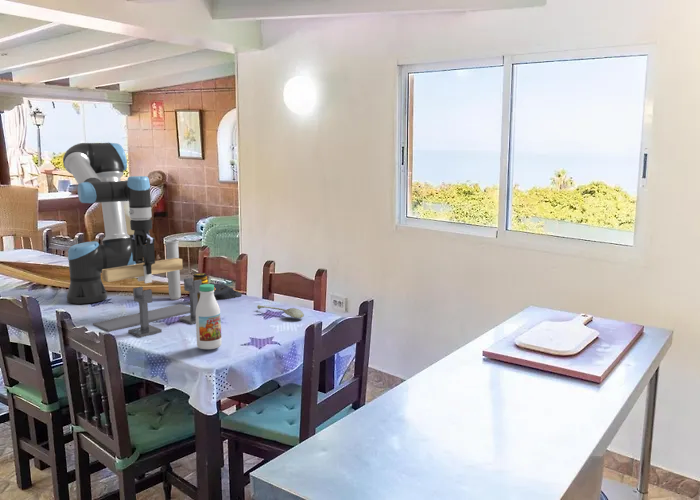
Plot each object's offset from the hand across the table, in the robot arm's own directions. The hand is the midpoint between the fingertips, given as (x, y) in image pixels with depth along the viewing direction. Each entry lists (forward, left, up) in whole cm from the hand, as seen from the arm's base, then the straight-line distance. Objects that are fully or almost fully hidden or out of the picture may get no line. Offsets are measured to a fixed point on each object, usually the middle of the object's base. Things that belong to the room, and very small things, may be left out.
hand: (144, 281), depth 224 cm
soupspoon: (+33, +34, -13) cm, 49 cm away
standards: (+16, 0, -14) cm, 21 cm away
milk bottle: (+45, -4, -14) cm, 47 cm away
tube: (-16, +22, -14) cm, 31 cm away
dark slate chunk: (-11, +40, -15) cm, 44 cm away
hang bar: (0, 0, +3) cm, 3 cm away
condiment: (-4, +26, -14) cm, 30 cm away
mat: (0, 0, -14) cm, 14 cm away
